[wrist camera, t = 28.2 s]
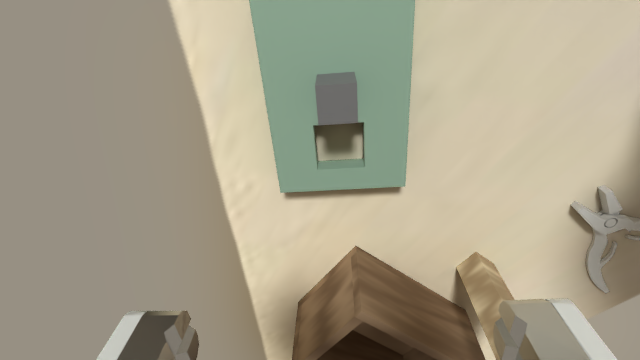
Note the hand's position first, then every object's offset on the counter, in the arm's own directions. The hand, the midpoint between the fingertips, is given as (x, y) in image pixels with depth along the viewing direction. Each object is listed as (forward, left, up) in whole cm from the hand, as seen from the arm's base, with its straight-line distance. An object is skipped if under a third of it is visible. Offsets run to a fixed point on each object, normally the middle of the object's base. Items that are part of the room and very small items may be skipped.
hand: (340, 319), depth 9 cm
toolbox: (+19, +22, -24) cm, 38 cm away
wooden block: (+7, +26, -24) cm, 36 cm away
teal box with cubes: (0, 0, -23) cm, 23 cm away
